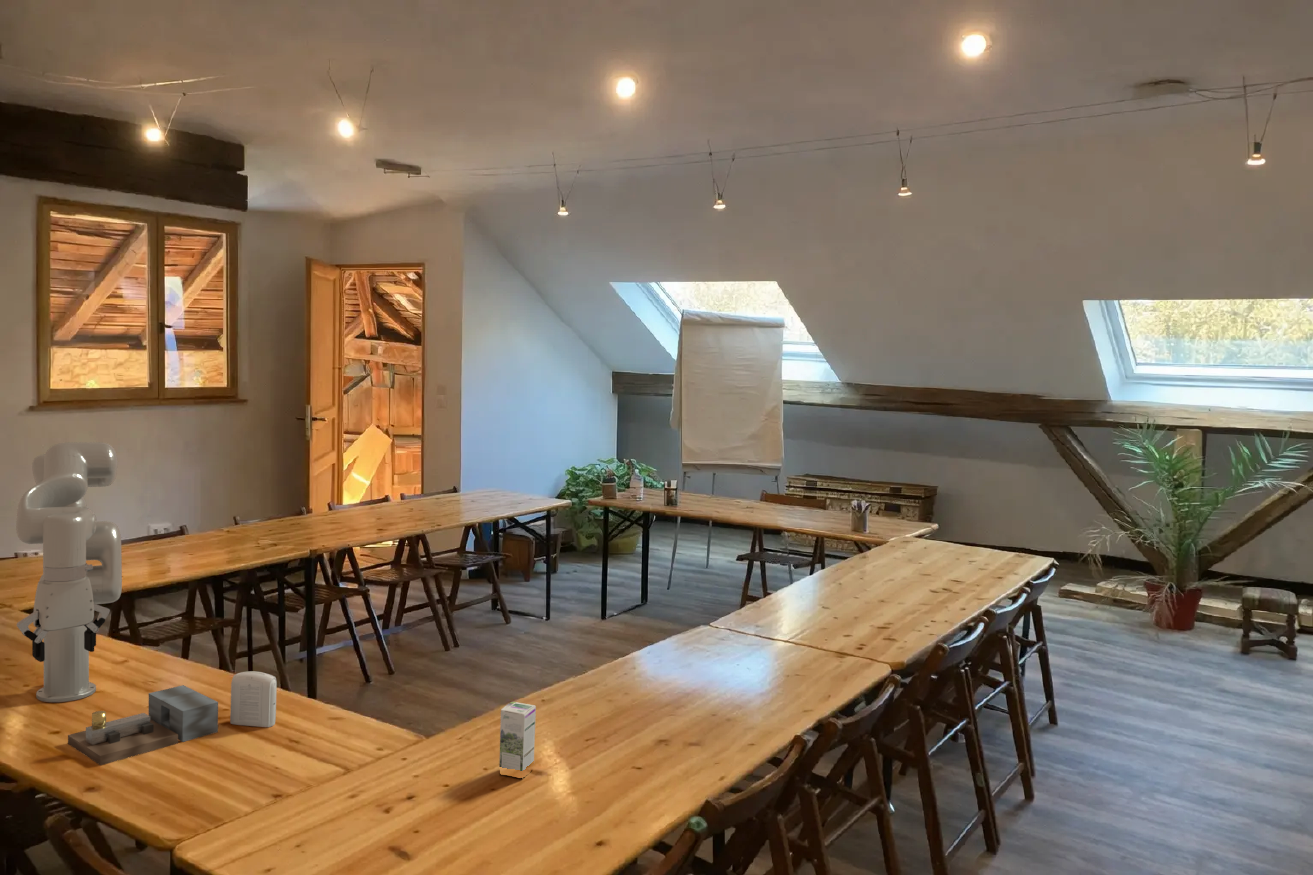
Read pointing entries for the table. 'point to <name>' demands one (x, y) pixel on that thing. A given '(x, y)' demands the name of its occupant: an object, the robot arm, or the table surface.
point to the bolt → (114, 726)
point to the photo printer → (253, 699)
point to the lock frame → (157, 726)
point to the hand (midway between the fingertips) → (64, 655)
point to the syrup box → (517, 736)
